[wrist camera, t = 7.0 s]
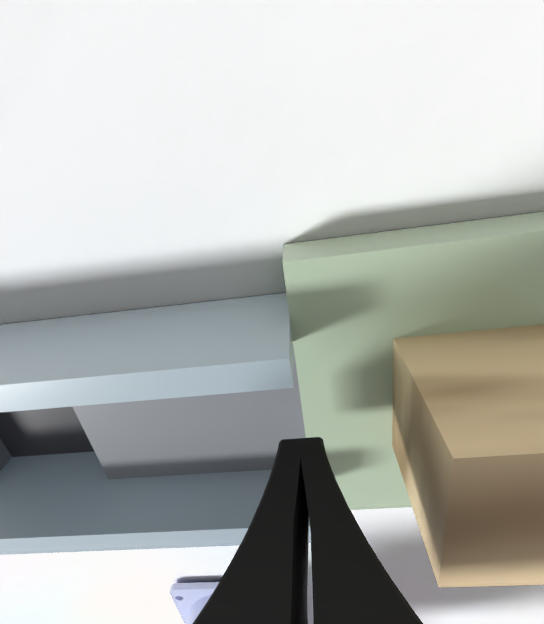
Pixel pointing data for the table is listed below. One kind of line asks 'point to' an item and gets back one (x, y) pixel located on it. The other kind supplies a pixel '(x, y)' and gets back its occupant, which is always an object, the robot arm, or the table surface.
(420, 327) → the pale green block
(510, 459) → the maple block
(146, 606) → the table surface
